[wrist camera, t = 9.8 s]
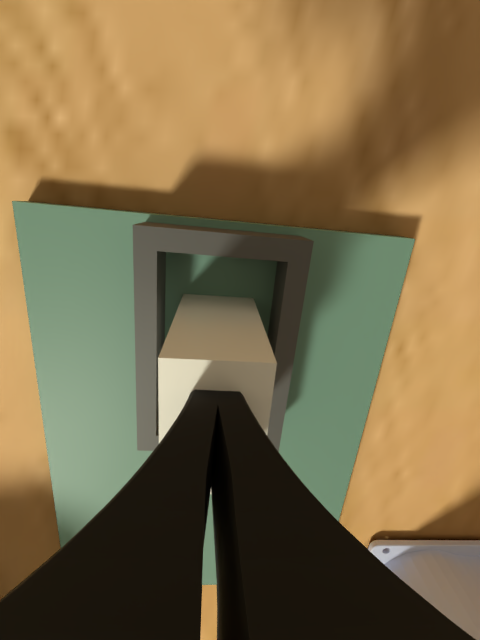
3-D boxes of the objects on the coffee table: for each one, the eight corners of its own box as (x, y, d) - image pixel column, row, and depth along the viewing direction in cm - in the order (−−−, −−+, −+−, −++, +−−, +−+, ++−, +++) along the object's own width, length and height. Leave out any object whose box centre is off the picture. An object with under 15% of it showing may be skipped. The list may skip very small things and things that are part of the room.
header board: (402, 236, 14) (447, 244, 11) (317, 567, 22) (331, 621, 19) (27, 201, 13) (-27, 200, 10) (73, 568, 20) (49, 627, 17)
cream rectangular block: (253, 298, 14) (276, 363, 8) (243, 401, 16) (256, 514, 10) (183, 293, 14) (158, 357, 8) (181, 399, 15) (159, 513, 10)
